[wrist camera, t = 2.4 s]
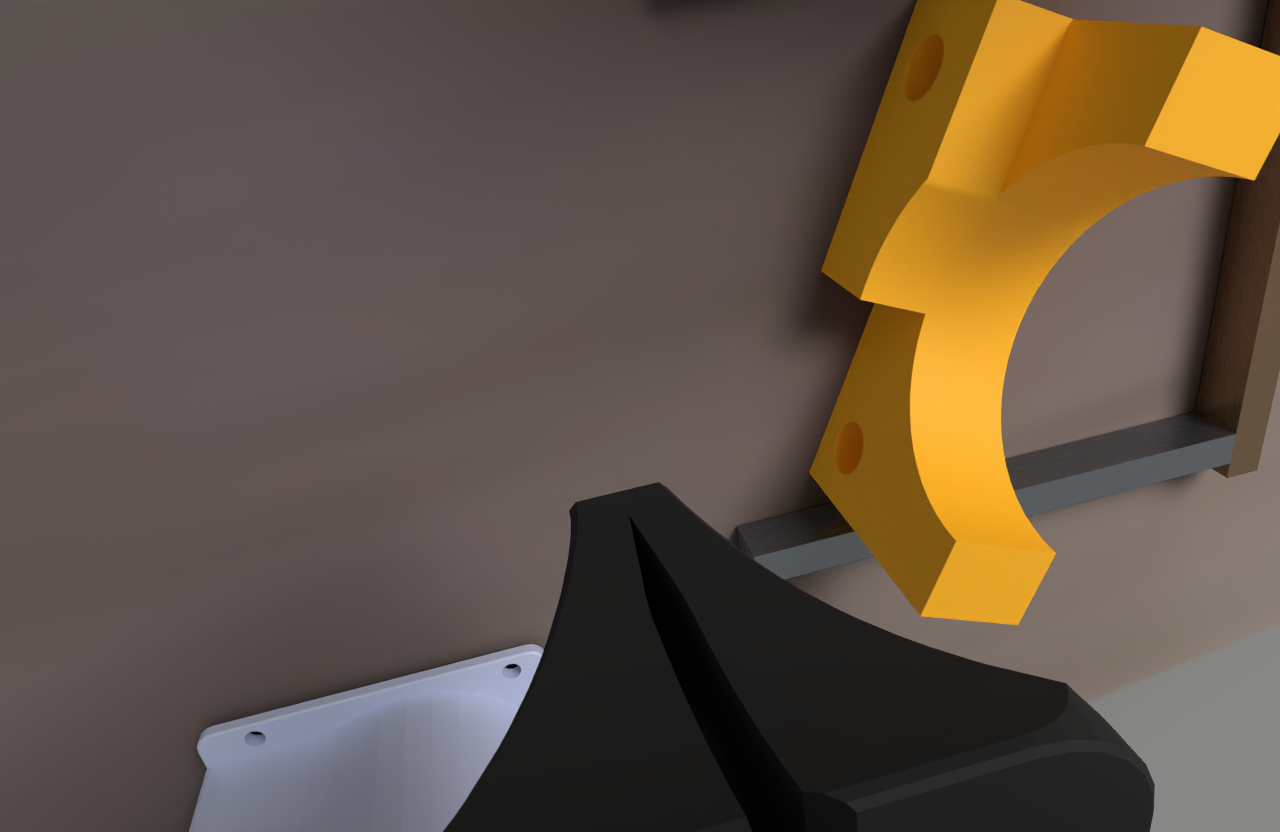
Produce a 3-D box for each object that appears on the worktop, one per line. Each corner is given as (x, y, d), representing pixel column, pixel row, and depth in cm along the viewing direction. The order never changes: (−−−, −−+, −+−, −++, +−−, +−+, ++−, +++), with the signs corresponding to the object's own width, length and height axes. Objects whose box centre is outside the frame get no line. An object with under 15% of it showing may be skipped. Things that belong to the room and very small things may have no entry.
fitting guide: (741, 568, 25) (758, 600, 24) (665, -112, 17) (685, -120, 16) (1216, 446, 27) (1257, 470, 26) (1346, -218, 19) (1414, -233, 18)
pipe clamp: (916, -9, 19) (1117, -5, 14) (1070, 45, 21) (1314, 68, 15) (750, 461, 24) (849, 610, 18) (885, 480, 25) (1017, 625, 20)
